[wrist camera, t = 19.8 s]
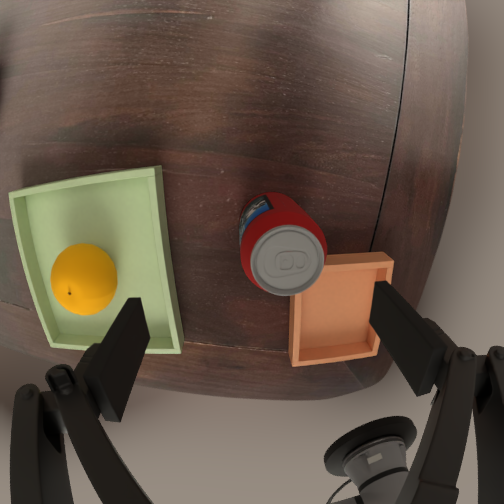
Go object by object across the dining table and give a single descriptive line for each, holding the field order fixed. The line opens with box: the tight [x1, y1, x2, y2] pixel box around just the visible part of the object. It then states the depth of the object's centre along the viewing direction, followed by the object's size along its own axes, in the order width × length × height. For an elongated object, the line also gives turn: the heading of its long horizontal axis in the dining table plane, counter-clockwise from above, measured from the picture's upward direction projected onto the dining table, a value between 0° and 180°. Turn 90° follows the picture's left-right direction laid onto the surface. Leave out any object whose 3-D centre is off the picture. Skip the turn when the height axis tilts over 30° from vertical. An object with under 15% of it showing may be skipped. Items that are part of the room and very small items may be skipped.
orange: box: [50, 243, 118, 315], centre depth 30 cm, size 8×8×8 cm
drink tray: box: [289, 252, 394, 367], centre depth 36 cm, size 14×12×3 cm
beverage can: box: [239, 192, 327, 296], centre depth 27 cm, size 7×7×12 cm
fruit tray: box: [9, 165, 184, 354], centre depth 32 cm, size 22×20×3 cm
